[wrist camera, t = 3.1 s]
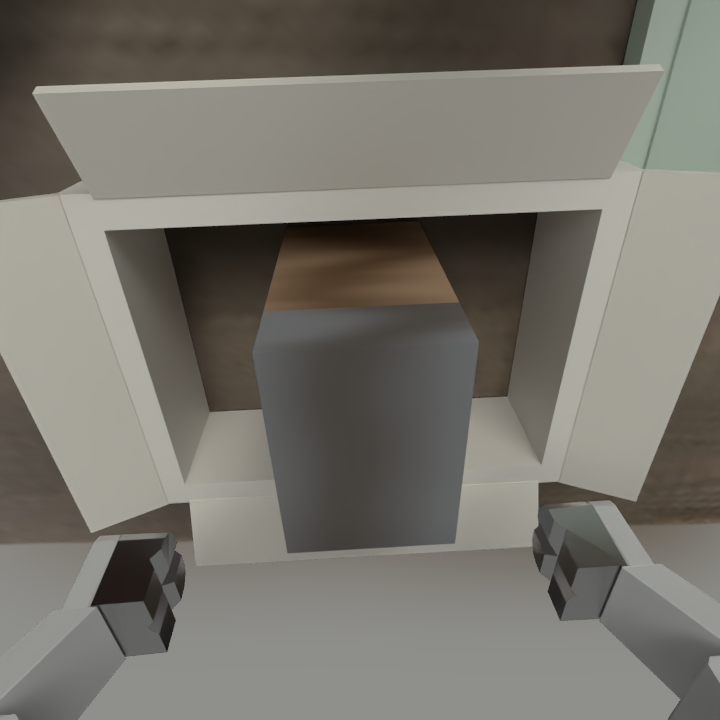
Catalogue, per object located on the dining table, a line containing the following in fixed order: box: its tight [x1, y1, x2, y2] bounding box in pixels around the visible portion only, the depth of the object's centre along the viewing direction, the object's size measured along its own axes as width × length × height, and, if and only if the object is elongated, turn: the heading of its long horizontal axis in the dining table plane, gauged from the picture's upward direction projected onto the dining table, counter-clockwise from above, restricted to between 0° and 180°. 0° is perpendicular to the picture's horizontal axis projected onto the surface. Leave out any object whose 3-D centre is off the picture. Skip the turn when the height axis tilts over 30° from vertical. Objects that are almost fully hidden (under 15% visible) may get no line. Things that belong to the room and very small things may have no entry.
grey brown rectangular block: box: [252, 221, 479, 553], centre depth 16 cm, size 5×7×9 cm
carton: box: [0, 64, 720, 567], centre depth 18 cm, size 21×17×6 cm
